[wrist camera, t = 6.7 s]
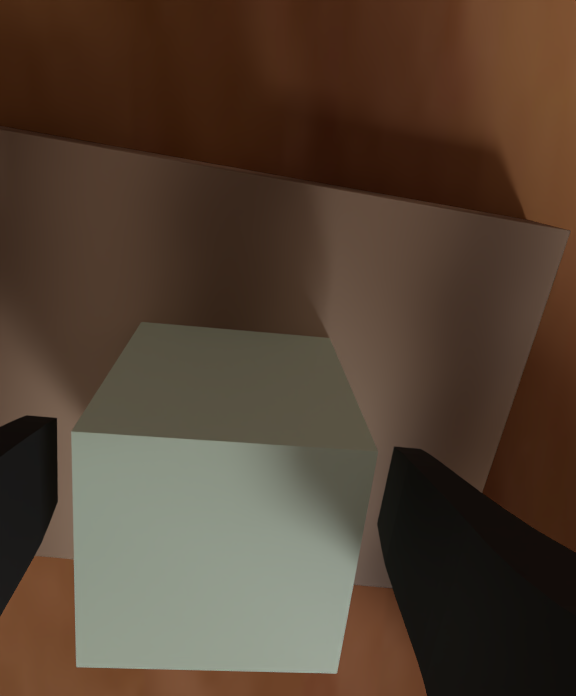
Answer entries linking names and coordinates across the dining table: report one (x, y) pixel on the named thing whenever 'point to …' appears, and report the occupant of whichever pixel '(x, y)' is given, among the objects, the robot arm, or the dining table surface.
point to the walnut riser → (264, 295)
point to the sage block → (218, 503)
